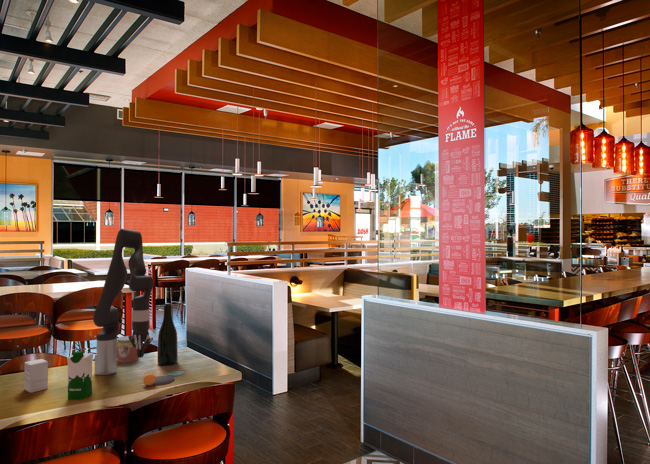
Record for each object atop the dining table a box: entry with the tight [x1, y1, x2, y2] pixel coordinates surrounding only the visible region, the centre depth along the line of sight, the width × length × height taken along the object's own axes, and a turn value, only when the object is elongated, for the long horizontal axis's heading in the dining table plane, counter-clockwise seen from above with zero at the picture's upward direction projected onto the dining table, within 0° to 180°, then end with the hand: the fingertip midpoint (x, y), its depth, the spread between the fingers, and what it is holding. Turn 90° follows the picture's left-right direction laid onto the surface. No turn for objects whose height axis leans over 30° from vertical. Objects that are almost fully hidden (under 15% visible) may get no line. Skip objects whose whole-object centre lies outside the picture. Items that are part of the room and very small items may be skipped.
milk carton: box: [66, 350, 94, 400], centre depth 197 cm, size 9×9×20 cm
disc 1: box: [143, 375, 176, 387], centre depth 219 cm, size 14×14×1 cm
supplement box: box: [24, 358, 49, 394], centre depth 207 cm, size 7×7×13 cm
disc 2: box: [167, 370, 185, 377], centre depth 230 cm, size 8×8×1 cm
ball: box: [142, 372, 157, 386], centre depth 213 cm, size 6×6×6 cm
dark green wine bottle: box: [157, 302, 179, 366], centre depth 248 cm, size 10×10×33 cm
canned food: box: [117, 335, 140, 363], centre depth 256 cm, size 11×11×12 cm
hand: (140, 357), depth 208 cm, fingers closed
